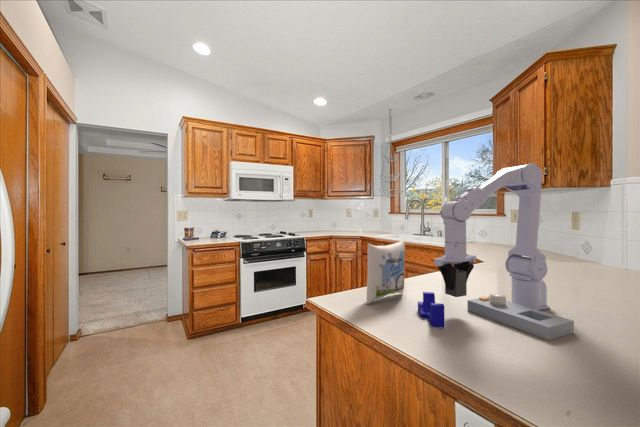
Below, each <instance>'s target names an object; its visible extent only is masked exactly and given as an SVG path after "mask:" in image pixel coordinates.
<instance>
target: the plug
mask: <svg viewBox="0 0 640 427" xmlns="http://www.w3.org/2000/svg"><path fill="white" fill-rule="evenodd" d="M467 293H468V292H467V283H466V271H463V270H458V269H457V271H456V274H455V280H454V289H453V290H449V289H446V285H445V284H444V294H446V295H449V296H451V297H454V298H459V297H465V296H466V297H467V295H468V294H467Z"/></svg>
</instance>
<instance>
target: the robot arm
mask: <svg viewBox="0 0 640 427" xmlns="http://www.w3.org/2000/svg"><path fill="white" fill-rule="evenodd" d="M495 173H496V174H494V175H493V176H492V177H491V178H490V179H488V180H487V181H486V182H484V183H483V184H481V185H480V186H479V187H478V186H473V187H472V186H470V187H469V186H468V187H467V188H466V189H465V190H466V191H465V192H463V193H462V194H460V195H457V196H455V197H454V198H453V201H446V202H445V203H443V205H442V207H441V210H439V214H440V217H441V218H442V221H443V223H442V224H443V225H444V255H442V256H440V257H437V258H433V266H437V268H438V270H439V272H440V273H441V276H442V279H443V281H444V286H445V285H446V289H449V290H453V289H454V280H455V274H456V271H457V269H458V270H463V271H466V284H467V282H468V279H469V277H470V274H471V272H472V271H473V269H474V267H475V264H474V263H476V262H477V255H472V254H467V220H469V219H470V217H471V216H472V213H473V212H474V211H475V210H477V209H478V208H480V207H481V206H482V205H484V204H485V203H486V202H487V200H488V196H490V195H492V194H494V193H495V192H496V191H498V190H500V189H502V188H505V189H507V190H508V191H510V192H512V193H514V194H516V195H517V197H518V199H519V200H518V213H517V222H516V223H517V226H516V236H515V238H516V239H515V246H514V247H512V248H510V249H509V250H508V254H507V258H506V260H505V266H504V268H505V270H506V272H507V273H509V276H510V277H511V301H509V302H512V303H515V304H519V305H522V306H526V307H529V308H532V309H536V310H539V311H542V310H546V309H550V308H551V306H550V305H548V300H547V299H548V298H547V296H548V294H547V293H548V292H547V291H548V287H547V284H546V282H545V281H544V280H543V279H544V278H545V277H546V276H547V273H548V266H547V262H546V261H547V260H546V254H544V253H543V252H542V250H540V249H538V241H539V240H538V238H539V228H540V227H539V226H540V225H539V223H540V215H541V214H540V213H541V200H542V186H543V184H542V183H543V171H542V170H541V169H540V167H539V166H538V165H536V164H535V163H532V162H531V163H528V164H523V165H522V164H521V165H516V166H511V167H503V168H501V169H500V170H498V171H497V172H495Z"/></svg>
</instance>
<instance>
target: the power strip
mask: <svg viewBox="0 0 640 427" xmlns="http://www.w3.org/2000/svg"><path fill="white" fill-rule="evenodd" d="M469 310H470V312H472V313H474V312H475V313H474V314H477V313H478V315H480V314H481V315H480V316H482V315H483V316H482V317H485V316H486V317H485V318H488V319H490V320H493V319H494V320H493V321H496V322H498V323H501V322H502V323H501V324H504V325H506V326H510V327H512V328H515V329H518V330H520V331H523V332H526V333H528V334H531V335H534V336H536V337H538V338H539V337H540V338H542V339H543V340H544V339H545V340H547V341H550V340H551V341H552V340H554V339H558V338H560V337H563V336H568V335H571V334H574V333H575V321H574V319H570V318H566V317H563V316H559V315H556V314H553V313H549V312H547V311H542V310H536V309H532V308H529V307H526V306H522V305H519V304H515V303H512V302H510V301H508V300H507V296H506V295H505V294H503V293H502V294H501V293H495V292H494V293H493V292H492V293H489V296H481V297H477V298H473V299H467V311H469Z"/></svg>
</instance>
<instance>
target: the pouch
mask: <svg viewBox="0 0 640 427" xmlns="http://www.w3.org/2000/svg"><path fill="white" fill-rule="evenodd" d="M405 249H406V245H405V239H402V240H400V241H397V242H396V243H391V244H388V245H373V244H371V243H367V256H366V257H367V262H366V263H367V277H366V278H367V279H366V305H370V304H371V303H373V302H375V301H376V300H378V299H381V298H384V297H386V296H388V295H390V294H391V295H392V294H397V293H398V294H403V293H404V291H405V261H406V260H405V259H406V258H405V257H406V255H405V252H406V250H405Z"/></svg>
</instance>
